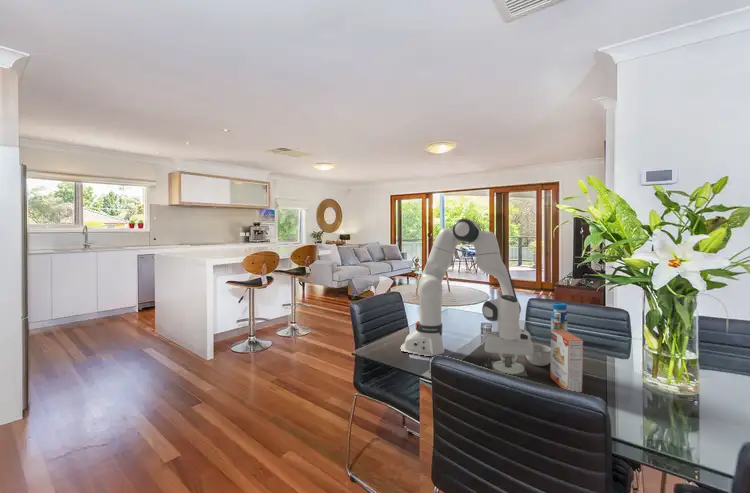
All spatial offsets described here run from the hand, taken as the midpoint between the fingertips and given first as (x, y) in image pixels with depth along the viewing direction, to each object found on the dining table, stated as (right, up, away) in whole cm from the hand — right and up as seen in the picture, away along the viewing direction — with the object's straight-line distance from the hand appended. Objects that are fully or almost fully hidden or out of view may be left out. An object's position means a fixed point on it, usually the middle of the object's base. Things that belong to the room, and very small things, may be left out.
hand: (508, 363), depth 156 cm
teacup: (+15, -2, +4) cm, 16 cm away
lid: (0, -2, 0) cm, 2 cm away
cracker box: (+16, -4, -17) cm, 23 cm away
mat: (0, -3, 0) cm, 2 cm away
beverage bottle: (+43, 0, +39) cm, 58 cm away
